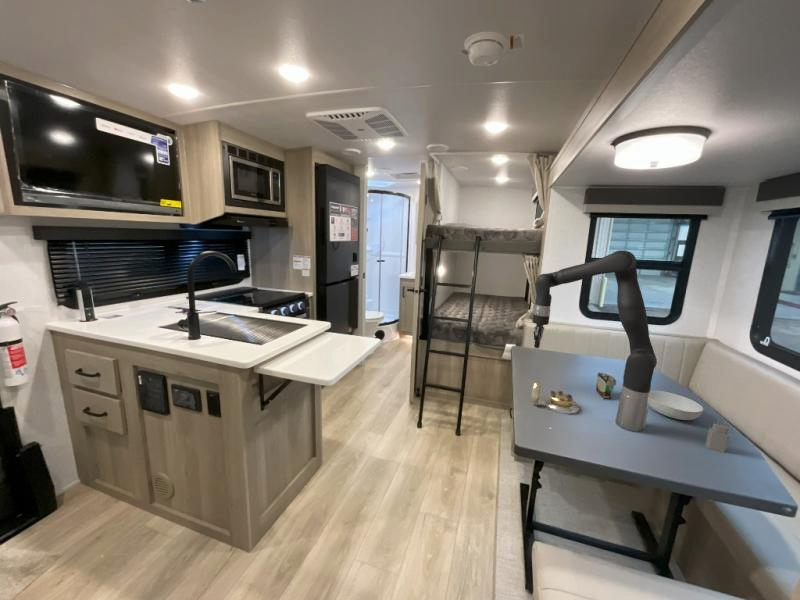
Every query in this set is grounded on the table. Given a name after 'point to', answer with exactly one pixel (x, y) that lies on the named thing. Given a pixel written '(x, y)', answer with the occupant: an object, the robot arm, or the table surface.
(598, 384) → the food container
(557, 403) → the crank handle
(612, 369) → the table surface
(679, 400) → the serving bowl
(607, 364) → the table surface
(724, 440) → the power adapter
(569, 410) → the plate
